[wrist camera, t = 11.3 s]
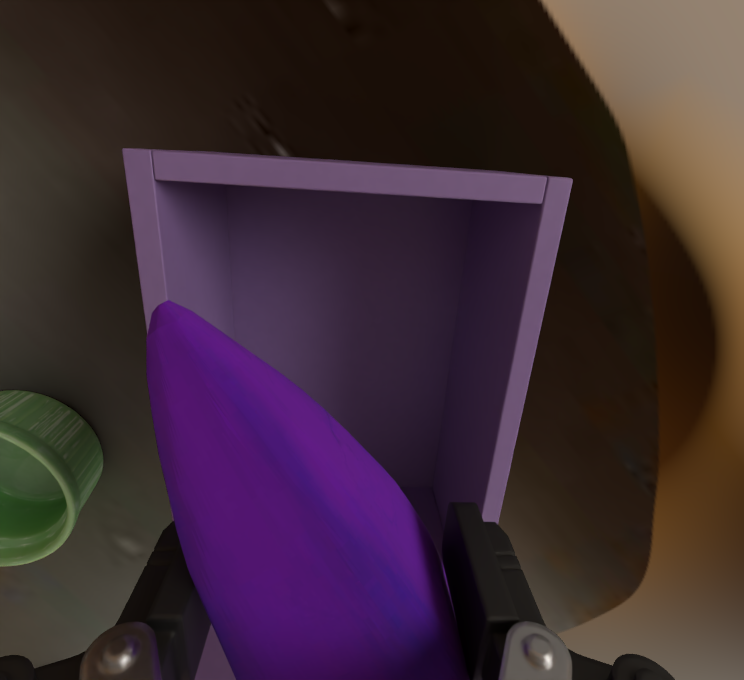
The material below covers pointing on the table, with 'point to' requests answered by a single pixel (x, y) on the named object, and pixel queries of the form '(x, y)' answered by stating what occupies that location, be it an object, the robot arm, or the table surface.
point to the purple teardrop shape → (290, 522)
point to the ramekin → (42, 474)
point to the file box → (367, 296)
